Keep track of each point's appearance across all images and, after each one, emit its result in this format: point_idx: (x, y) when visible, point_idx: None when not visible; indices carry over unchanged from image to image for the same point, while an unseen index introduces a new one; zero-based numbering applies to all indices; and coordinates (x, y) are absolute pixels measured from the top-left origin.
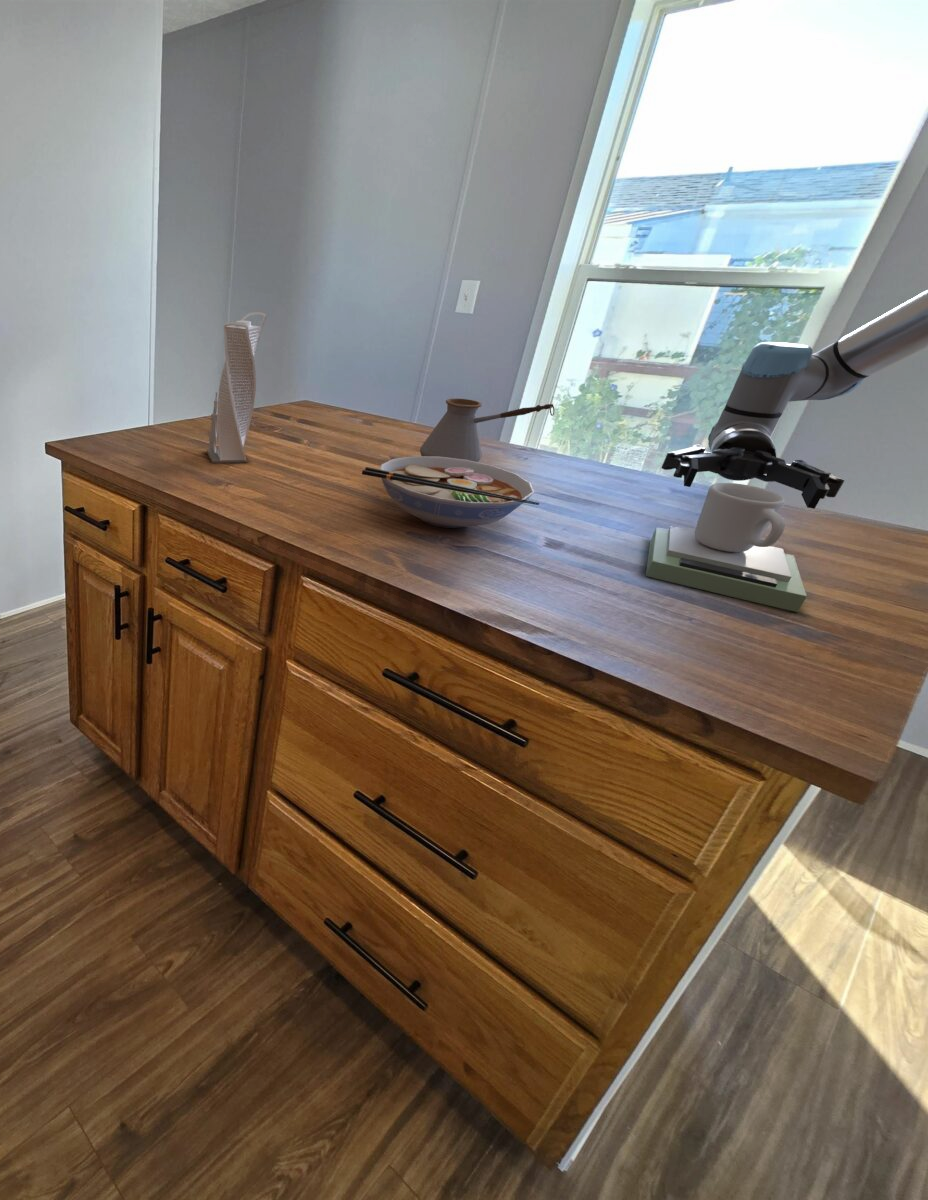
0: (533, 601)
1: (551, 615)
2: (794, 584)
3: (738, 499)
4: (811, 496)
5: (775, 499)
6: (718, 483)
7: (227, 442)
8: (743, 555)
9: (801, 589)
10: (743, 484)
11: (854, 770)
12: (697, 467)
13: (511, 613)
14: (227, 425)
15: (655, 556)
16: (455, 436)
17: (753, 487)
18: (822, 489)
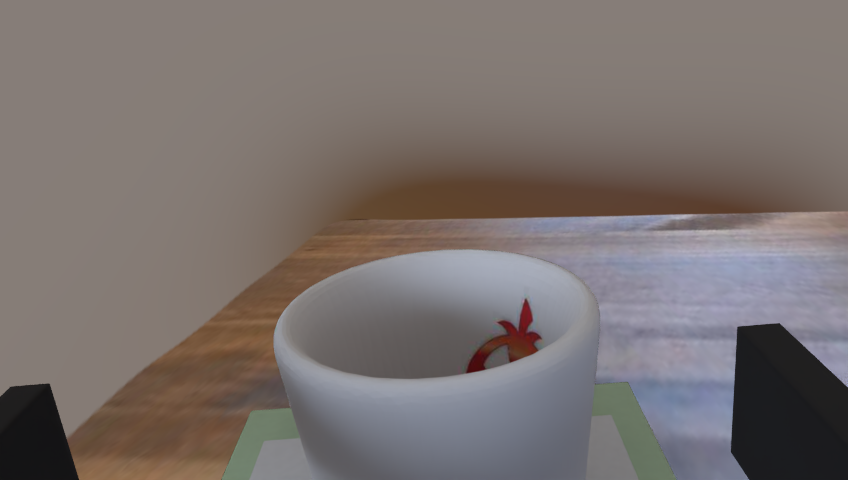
0: (730, 260)
1: (680, 250)
2: (254, 455)
3: (468, 253)
4: (46, 472)
5: (303, 348)
6: (573, 325)
7: None
8: None
9: (247, 436)
10: (446, 378)
11: (338, 222)
12: (768, 353)
13: (725, 233)
14: None
15: (634, 408)
16: None
17: (391, 381)
18: (24, 386)
